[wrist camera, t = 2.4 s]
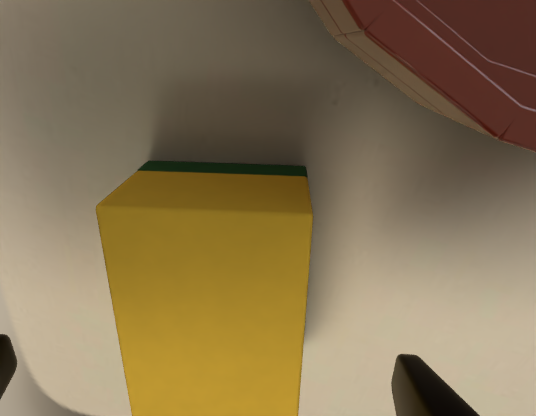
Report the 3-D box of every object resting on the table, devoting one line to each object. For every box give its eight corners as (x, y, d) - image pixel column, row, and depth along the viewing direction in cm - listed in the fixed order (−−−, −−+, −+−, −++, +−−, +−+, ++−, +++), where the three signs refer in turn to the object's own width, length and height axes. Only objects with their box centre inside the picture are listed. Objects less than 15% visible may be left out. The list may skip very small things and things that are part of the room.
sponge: (293, 351, 14) (296, 442, 11) (168, 345, 14) (133, 432, 11) (305, 165, 11) (313, 214, 8) (148, 160, 11) (92, 205, 8)
